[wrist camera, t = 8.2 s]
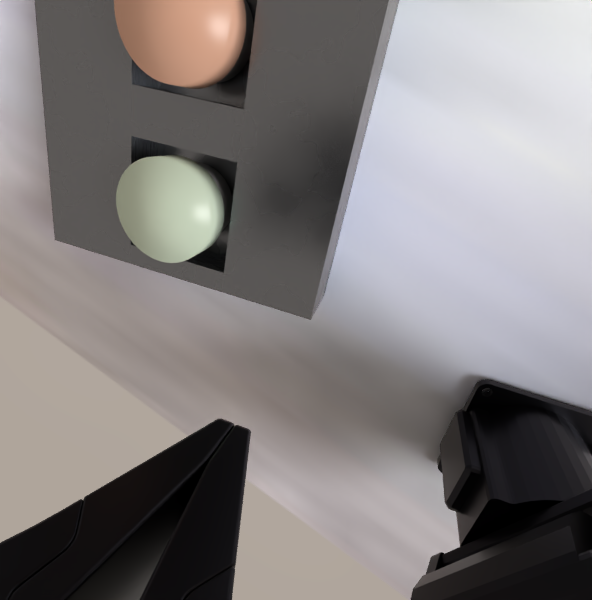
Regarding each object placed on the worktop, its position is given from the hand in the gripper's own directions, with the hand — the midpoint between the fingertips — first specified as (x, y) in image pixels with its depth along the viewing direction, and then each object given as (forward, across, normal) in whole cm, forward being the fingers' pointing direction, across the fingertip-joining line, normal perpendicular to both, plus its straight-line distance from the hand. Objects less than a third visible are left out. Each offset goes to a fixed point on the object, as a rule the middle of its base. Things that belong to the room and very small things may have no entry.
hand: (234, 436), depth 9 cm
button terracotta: (+11, +7, -9) cm, 16 cm away
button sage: (+11, +7, -2) cm, 13 cm away
